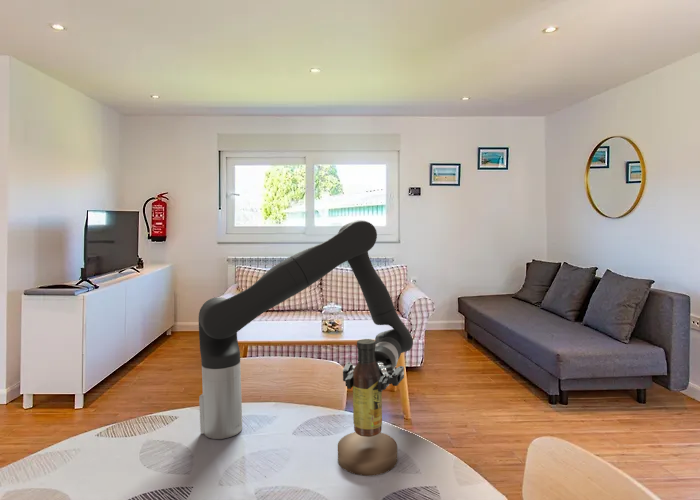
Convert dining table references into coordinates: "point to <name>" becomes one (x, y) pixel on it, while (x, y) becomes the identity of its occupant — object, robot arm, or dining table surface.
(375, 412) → the sauce bottle
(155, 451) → the dining table surface
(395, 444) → the tan flat disc
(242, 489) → the dining table surface
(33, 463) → the dining table surface
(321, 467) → the dining table surface
